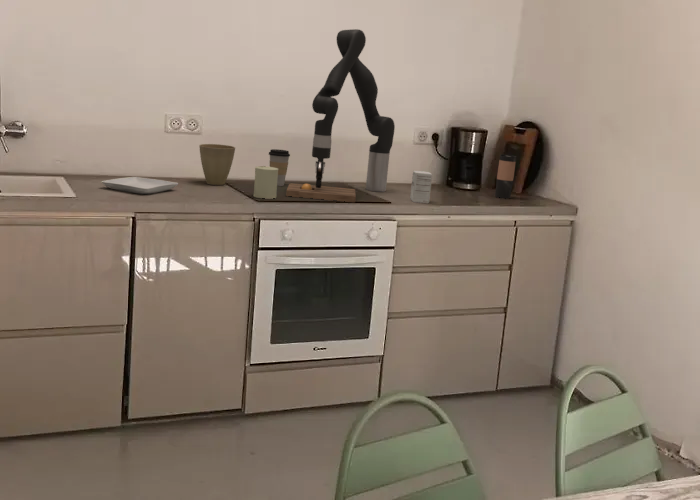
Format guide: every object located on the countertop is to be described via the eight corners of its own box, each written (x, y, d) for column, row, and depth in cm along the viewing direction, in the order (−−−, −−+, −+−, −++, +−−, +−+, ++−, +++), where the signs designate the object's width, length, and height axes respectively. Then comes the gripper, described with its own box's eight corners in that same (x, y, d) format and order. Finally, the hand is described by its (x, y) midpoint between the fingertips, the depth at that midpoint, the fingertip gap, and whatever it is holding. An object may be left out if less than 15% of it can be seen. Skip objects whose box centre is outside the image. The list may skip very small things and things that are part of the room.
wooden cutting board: (289, 189, 341) (289, 183, 340) (354, 195, 342) (354, 189, 341) (286, 196, 321) (286, 190, 321) (355, 202, 322) (355, 196, 322)
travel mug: (511, 197, 380) (517, 155, 375) (509, 199, 372) (515, 157, 368) (495, 195, 382) (501, 153, 377) (493, 197, 375) (498, 155, 370)
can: (266, 194, 322) (268, 164, 319) (281, 198, 315) (283, 168, 313) (248, 195, 315) (250, 165, 313) (262, 199, 309) (265, 168, 306)
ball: (300, 191, 334) (303, 181, 333) (310, 194, 334) (313, 184, 333) (299, 193, 329) (302, 182, 328) (309, 196, 329) (313, 186, 328)
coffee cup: (284, 187, 345) (287, 152, 342) (263, 184, 347) (265, 150, 344) (290, 184, 354) (292, 150, 351) (270, 182, 356) (272, 148, 353)
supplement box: (409, 199, 345) (412, 170, 342) (426, 200, 346) (429, 171, 343) (412, 202, 338) (415, 172, 335) (429, 203, 338) (432, 173, 336)
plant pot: (204, 179, 344) (205, 142, 341) (237, 183, 342) (239, 146, 339) (192, 184, 330) (194, 145, 326) (227, 188, 328) (229, 149, 325)
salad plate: (99, 189, 299) (99, 180, 299) (134, 184, 319) (134, 175, 318) (146, 197, 292) (146, 188, 291) (179, 191, 311) (179, 182, 310)
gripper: (330, 148, 321) (327, 190, 325) (331, 145, 334) (327, 186, 337) (312, 146, 321) (308, 189, 324) (313, 143, 333) (309, 184, 337)
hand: (318, 187), depth 331 cm, fingers closed
